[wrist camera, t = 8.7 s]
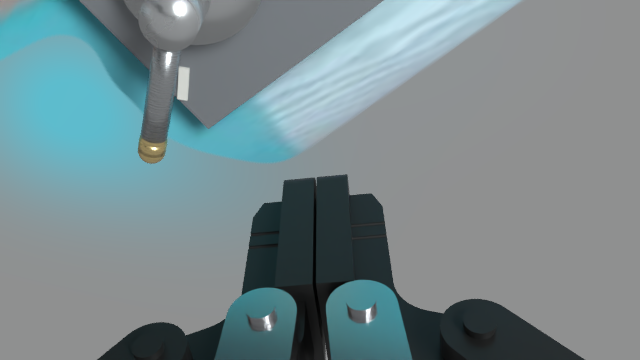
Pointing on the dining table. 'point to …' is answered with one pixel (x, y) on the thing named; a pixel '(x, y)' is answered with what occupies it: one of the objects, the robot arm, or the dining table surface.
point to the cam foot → (178, 52)
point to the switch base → (239, 49)
